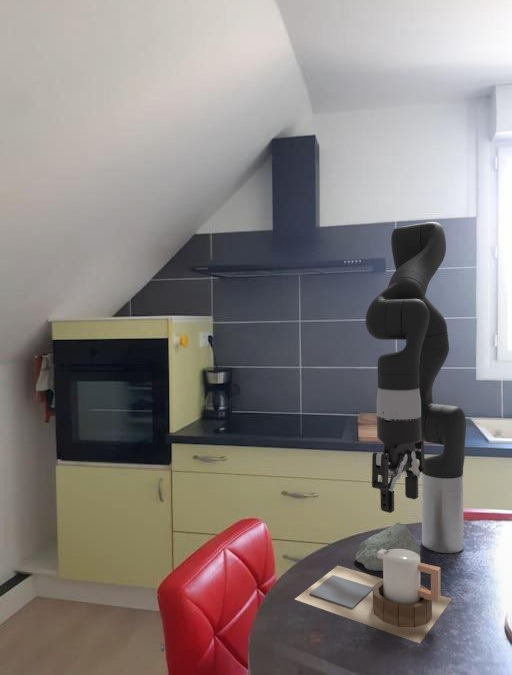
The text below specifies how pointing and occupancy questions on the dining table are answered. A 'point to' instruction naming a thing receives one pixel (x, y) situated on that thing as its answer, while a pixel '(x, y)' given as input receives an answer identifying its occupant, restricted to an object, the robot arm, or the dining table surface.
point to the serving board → (372, 604)
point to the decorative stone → (385, 545)
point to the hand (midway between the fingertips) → (400, 504)
